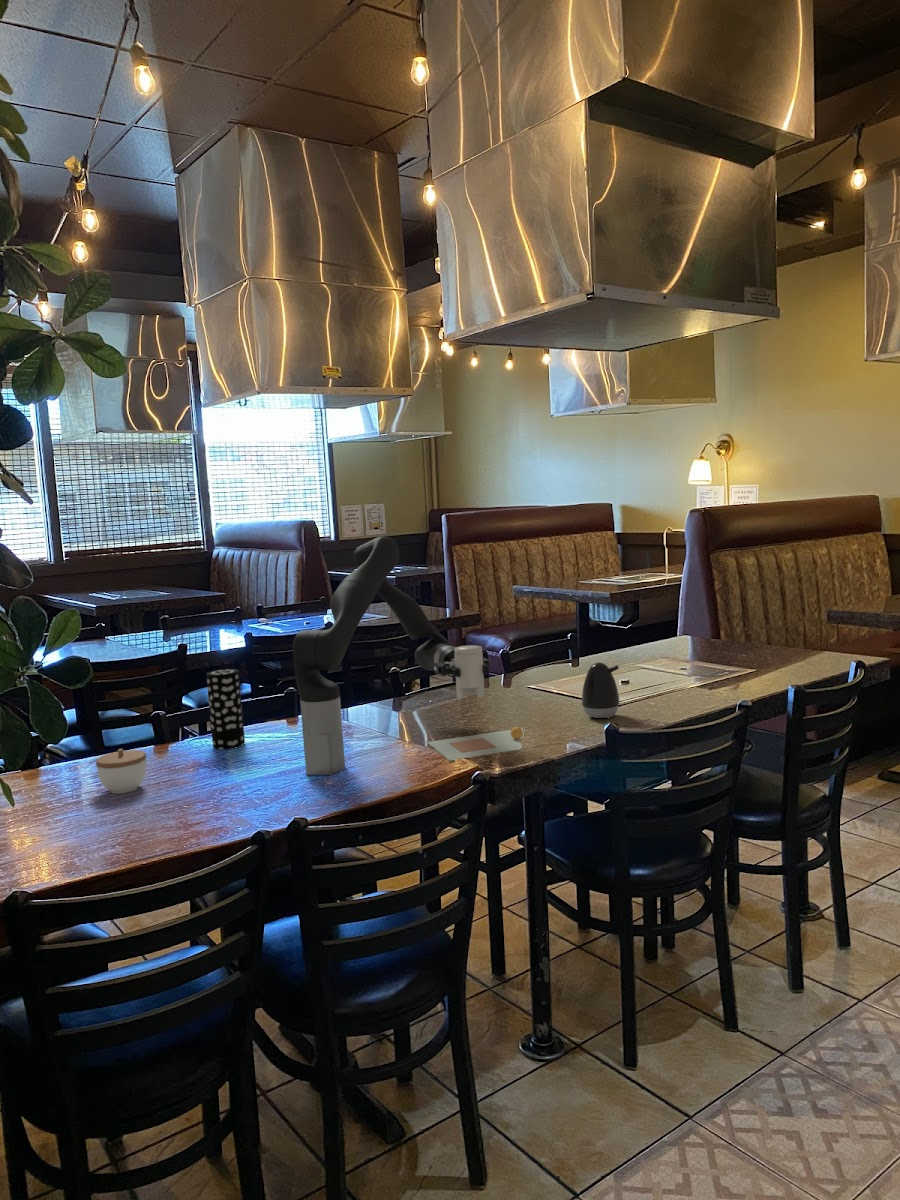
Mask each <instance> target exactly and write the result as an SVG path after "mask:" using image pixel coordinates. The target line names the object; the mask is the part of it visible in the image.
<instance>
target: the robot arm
mask: <svg viewBox="0 0 900 1200" xmlns="http://www.w3.org/2000/svg"><path fill="white" fill-rule="evenodd" d="M399 558H400V550H399V546H398V544H397V542H396V541H395V540H394V539H392V538H391V537H389V536H383V535H382V536H378V537H376V538H374V539H372V540H369V541H368V542H366V543H363V544H361V545H360V546H358V547H356V548H355V550H354V552H353V560H354V563H355V566H356V568H355V569H354V570H353V571H351V572H350V573H349V574H348V575H347V576H346V577H345V578H344V579H342V581H341V582H340V583H339V585H338V586H337V588H336V589H335V591H334V592H333V595H332V596H331V598H330V599H331V600H330V606H329V607H330V611H331V614H332V616H333V619H334V621H335V622H334V623H333V625H332V626H331V627H330V628H328V629H304V630H300V631H298V632H297V633H296V635H295V637H294V639H293V643H292V658H293V666H294V671H295V679H296V680H295V681H296V686H297V687H296V688H297V690H298V693H299V700H300V701H299V702H300V713H301V715H300V716H301V725H302V727H301V728H302V738H303V750H304V751H303V752H304V762H305V774H306V775H308V776H309V775H313V776H315V775H316V776H319V775H321V776H322V775H323V776H327V775H328V776H331V775H333V774H336V773H339V772H342V771H343V770H345V768H346V760H345V749H344V748H345V746H344V737H343V735H344V733H343V723H342V720H343V719H342V706H341V693H340V686H339V685H338V683H336V682H335V681H332V680H330V679H328V678H326V677H324V676H323V675H322V674H321V673H320V671H319V670H332V669H336V668H337V667H338V666H339V665H340V664H341V662H342V661H343V660H344V657H345V655H346V652H347V651H348V647H349V645H350V642H351V640H352V638H353V635H354V633H355V631H356V629H357V627H358V625H359V624H360V622H361V621H362V619H363V617H364V615H365V614H366V613H367V611H368V609H369V607H370V606H371V604H372V602H373V600H374V598H375V597H376V595H378V596H379V597H381V599H382V600H384V602H385V603H386V604H387V605H388V607H389V608H390V609H391V610H392V612H393V614H394V615H395V616H396V618H397V619H398V621H399V623H400V624H401V626H402V627H403V630H404V631H405V632H406V634H407V635H408V638H410V639H411V640H418V639H421V638H423V637H424V638H425V636H426V637H427V636H428V637H430V639H428V640H427V641H425V642H424V643H423V644H421V645H420V646H418V647H417V649H416V650H415V652H414V659H415V662H416V664H418V666H419V667H420V668H422V669H424V670H426V671H432V672H434V674H436V675H438V676H439V675H440V676H441V677H447V676H448V677H450V678H454V679H456V677H460V668H458V667H456V666H455V655H454V653H455V652H454V648H456V647H457V646H453V645H452V644H451V643H450V641H449V640H448V639H447V638H446V637H445V636H444V635H442V634H441V633H440V631H438V630H437V628H435V627H434V625H433V624H432V623H431V622H430V620H429V619H428V616H427V615H426V614H425V612H424V610H423V609H422V607H421V606H420V604H419V603H418V602H417V601H416V600H415V599H414V598H413V597H412V596H410V595H408V594H407V593H405V592H403V591H402V590H400V589H399V588H398V587H396V586H394V585H393V584H392V582H390V581H389V580H388V579H387V577H388V576H389V575H390V573H392V571H393V570H394V569H395V568H396V566H397V565H398V563H399ZM490 671H491V665H490V659H488V658H486V657H483V674H484V675H487V674H488V672H490Z"/></svg>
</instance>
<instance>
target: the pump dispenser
mask: <svg viewBox="0 0 900 1200" xmlns="http://www.w3.org/2000/svg"><path fill="white" fill-rule="evenodd" d="M619 669H620V668H619V665H614V666H611V667H608V666H607V664H605V663H603V662H595V663H592V664H591V666H590V667H589V670H588V671H587V673H586V675H585V679H584V682H583V686H582V695H581V706H582V707H583V711H584V712H585V714H586V715H587V716H588V717H590V718H591V717H594V718H608V717H610V718H612V717H613V716H615V715H616V713H617V711H618V709H619V705H620V695H619V690H618V686H617V683H616V680H615V678H614V675H613V674H612V673H614V672H616V671H617V670H619ZM594 718H593V719H594ZM608 719H609V718H608Z"/></svg>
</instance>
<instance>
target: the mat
mask: <svg viewBox="0 0 900 1200" xmlns="http://www.w3.org/2000/svg"><path fill="white" fill-rule="evenodd" d="M519 728H520V729H521V730H522V731H523V728H524V727H519ZM511 730H512V729H507V730H506V729H505V730H500V731H494V732H487V733H480V734H474V735H467V736H460V737H459V736H458V737H453V738H447V739H445V738H444V739H439V740H433V741H427V745H428V744H429V745H428V746H429V747H430V748H432V747H433V748H434V749H435V752H436V753H438V754H439V753H440V754H439V755H440V756H442V757H443V758H444V759H445V758H446V761H448V762H449V761H450V762H449V763H453V762H452V761H454V762H456V761H455V760H460V759H467V758H473V757H478V756H487V755H491V754H499V753H504V752H505V753H506V752H513V751H519V750H524V749H523V748H522V745H523V744H522V743H521V742H522V741H521V738H522V736H521V738H519V739H520V740H519V739H514V738H513V737H512V736H511ZM524 731H525V729H524ZM526 731H527V730H526ZM523 733H524V732H523ZM523 735H524V734H523ZM523 737H524V736H523ZM522 740H523V739H522ZM520 741H521V742H520ZM520 743H521V744H522V745H521V744H520ZM433 748H432V749H433ZM521 748H522V749H521ZM434 749H433V750H434Z"/></svg>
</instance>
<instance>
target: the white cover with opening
mask: <svg viewBox="0 0 900 1200" xmlns="http://www.w3.org/2000/svg"><path fill="white" fill-rule="evenodd" d="M455 647H456V648H454V652H455V653H454V655H455V666H456V667H458V668H460V677H456V678H455V688H456V698H457V699H459V700H463V699H464V696H466V695H467V696H468V695H476V696H477V699H482V698H484V697H485V696H486V695H485V674H483V658H484V656H483V646H481V645H471V644H470V645H460V646H455Z"/></svg>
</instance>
